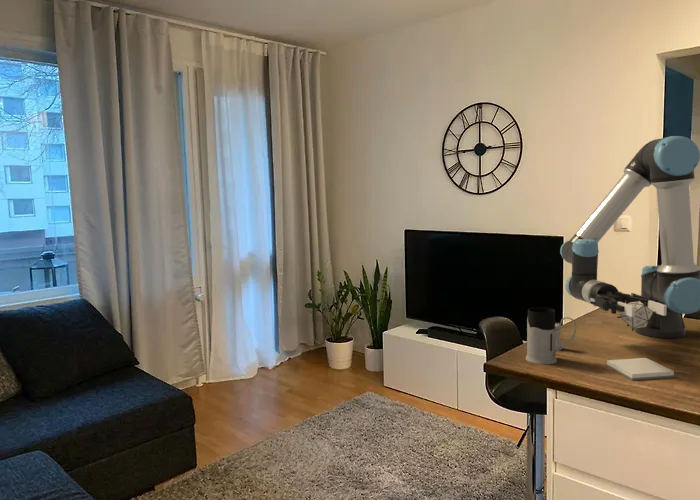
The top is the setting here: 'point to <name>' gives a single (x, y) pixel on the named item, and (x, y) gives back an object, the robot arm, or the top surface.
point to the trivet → (640, 369)
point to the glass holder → (542, 335)
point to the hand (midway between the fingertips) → (649, 311)
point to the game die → (638, 315)
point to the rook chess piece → (557, 338)
